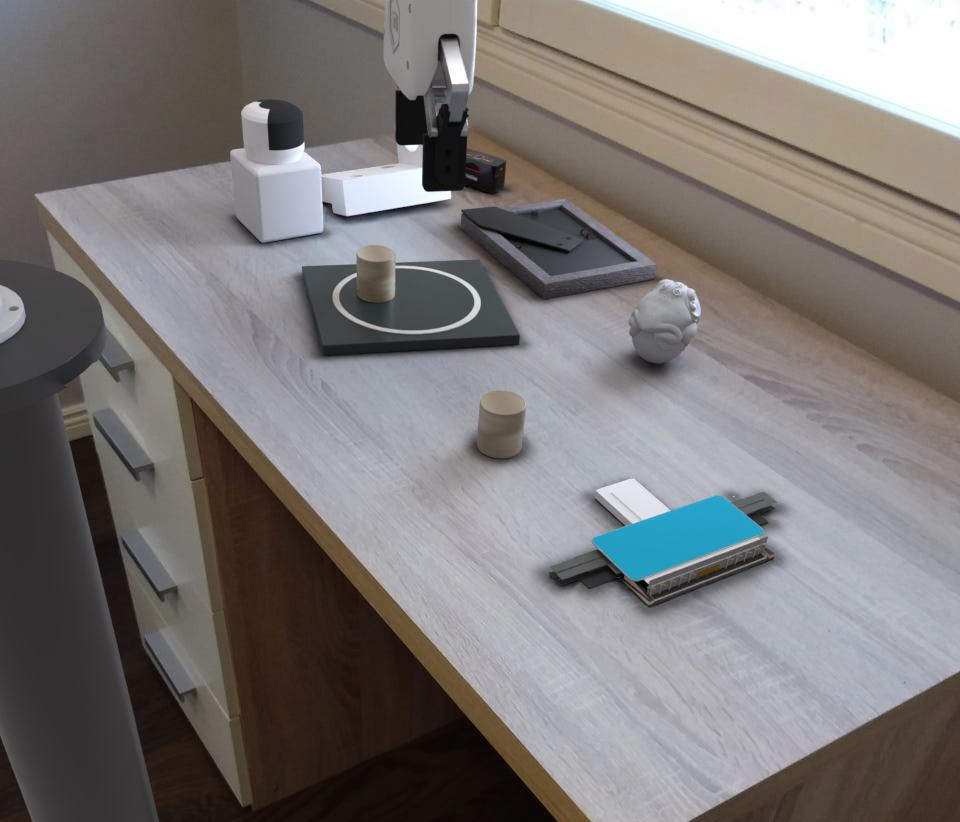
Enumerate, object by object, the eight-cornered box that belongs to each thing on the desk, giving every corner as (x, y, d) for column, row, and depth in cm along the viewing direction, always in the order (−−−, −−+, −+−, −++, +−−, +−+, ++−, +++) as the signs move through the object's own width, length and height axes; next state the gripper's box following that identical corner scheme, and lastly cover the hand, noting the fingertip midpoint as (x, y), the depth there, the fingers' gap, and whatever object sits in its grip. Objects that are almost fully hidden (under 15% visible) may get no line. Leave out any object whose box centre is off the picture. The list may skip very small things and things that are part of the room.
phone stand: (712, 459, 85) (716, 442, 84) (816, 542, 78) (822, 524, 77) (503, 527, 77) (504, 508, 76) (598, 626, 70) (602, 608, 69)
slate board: (323, 355, 93) (322, 344, 92) (302, 275, 104) (301, 264, 103) (519, 344, 97) (520, 333, 96) (478, 268, 108) (479, 257, 107)
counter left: (360, 303, 98) (359, 262, 95) (354, 286, 101) (353, 245, 98) (398, 302, 99) (398, 260, 96) (391, 284, 101) (391, 244, 99)
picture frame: (460, 227, 115) (543, 299, 104) (461, 209, 114) (545, 279, 102) (564, 212, 120) (654, 278, 109) (566, 194, 119) (657, 260, 108)
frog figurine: (705, 358, 97) (722, 286, 92) (661, 384, 93) (677, 310, 89) (651, 334, 100) (665, 263, 95) (607, 358, 96) (619, 285, 91)
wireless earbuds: (456, 173, 127) (457, 145, 124) (506, 189, 124) (508, 160, 122) (433, 184, 124) (434, 155, 121) (484, 200, 121) (486, 171, 119)
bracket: (421, 193, 124) (414, 121, 120) (451, 198, 118) (445, 124, 115) (319, 209, 118) (309, 135, 114) (346, 216, 113) (336, 138, 109)
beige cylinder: (482, 460, 83) (486, 416, 80) (472, 435, 85) (475, 391, 83) (526, 456, 84) (531, 413, 81) (514, 432, 86) (519, 388, 83)
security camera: (296, 208, 116) (290, 90, 108) (324, 233, 112) (320, 112, 103) (235, 218, 113) (223, 97, 105) (261, 244, 109) (251, 120, 100)
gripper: (357, -122, 76) (361, 129, 88) (408, -71, 64) (404, 212, 76) (458, -119, 78) (448, 127, 89) (525, -69, 66) (504, 207, 78)
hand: (428, 165), depth 83 cm, fingers open, 9 cm apart
